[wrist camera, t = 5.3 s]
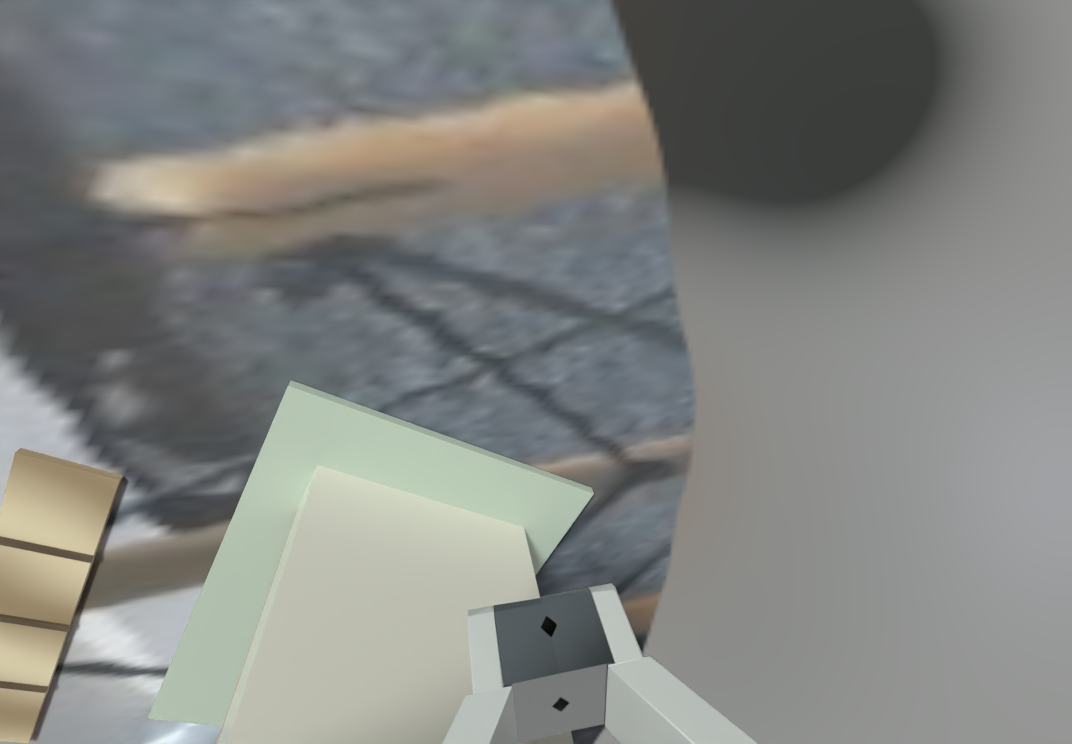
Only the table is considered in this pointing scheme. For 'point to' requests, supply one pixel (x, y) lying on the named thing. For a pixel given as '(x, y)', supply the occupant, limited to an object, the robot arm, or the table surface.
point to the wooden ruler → (43, 574)
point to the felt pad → (276, 491)
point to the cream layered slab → (373, 618)
